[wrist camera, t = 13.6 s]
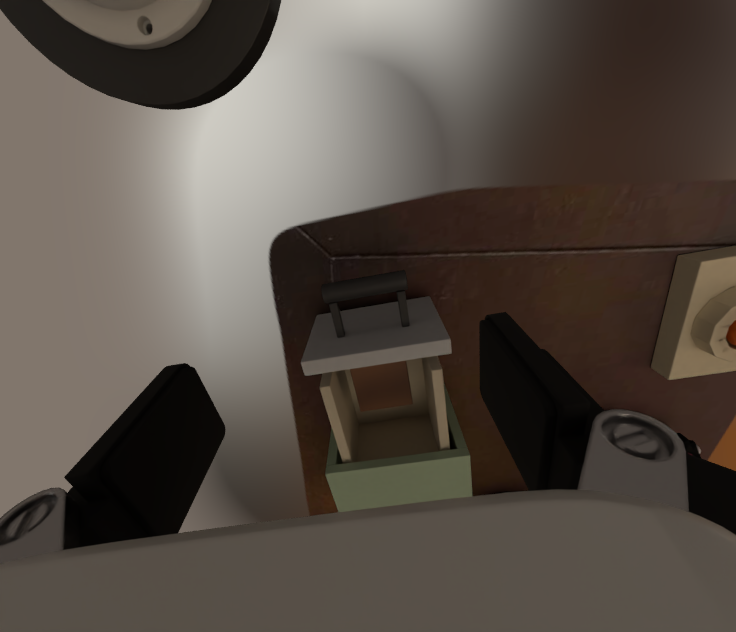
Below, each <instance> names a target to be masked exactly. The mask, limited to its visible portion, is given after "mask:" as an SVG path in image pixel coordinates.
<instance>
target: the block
mask: <svg viewBox="0 0 736 632" xmlns="http://www.w3.org/2000/svg"><path fill="white" fill-rule="evenodd" d="M350 373H351V377H352V381H353V385H354V388H355V392H356V396H357V400H358V404H359V408H360V411H361V412H364V411H371V410H378V409H384V408H391V407H398V406H405V405H411V404H413V400H412V393H411V387H410V381H409V375H408V369H407V363H406V361H399V362H393V363H386V364H380V365H373V366H367V367H360V368H354V369H350Z"/></svg>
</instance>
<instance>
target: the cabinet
mask: <svg viewBox="0 0 736 632" xmlns="http://www.w3.org/2000/svg"><path fill="white" fill-rule="evenodd" d="M444 392H445V402H446V412H447V422H448V433H449V443H450V450H445V451H437V452H429V453H422V454H414V455H407V456H399V457H391V458H384V459H376V460H368V461H361V462H353V463H346V464H343V462H342V459H341V456H340V452H339V449H338V446H337V443H336V439H335V436H334V433H333V430H332V429H331V437H330V444H329V452H328V459H327V466H326V473H325V475H326V478H327V480H328V483H329V486H330V489H331V492H332V495H333V497H334V500H335V503H336V506H337V509H338V512H346V511H354V510H362V509H370V508H379V507H387V506H395V505H403V504H411V503H419V502H427V501H436V500H444V499H453V498H462V497H472V480H471V464H470V454H469V451H468V448H467V446H466V443H465V440H464V437H463V435H462V432H461V429H460V426H459V423H458V421H457V418H456V415H455V412H454V409H453V407H452V404H451V401H450V398H449V395H448V393H447V390H446V387H445V384H444Z"/></svg>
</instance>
